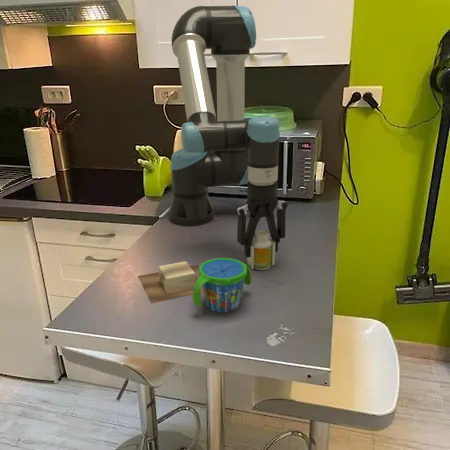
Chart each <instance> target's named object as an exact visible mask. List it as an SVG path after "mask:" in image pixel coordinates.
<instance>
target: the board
mask: <svg viewBox="0 0 450 450" xmlns="http://www.w3.org/2000/svg"><path fill="white" fill-rule="evenodd" d="M189 266H190V267H191V269H192V270H193V271H194V273H195V283H196V281H197V279H198V278H199V276H200V275H199V267H200V265H199V264H196V265H189ZM137 278H138V280H139V282H140V283H141V286H142V288H143V290H144V291H145V292H144V293H145V294H146V296H147V297H148V300H149V302H150V304H154V303H159V302H165V301H169V300H174V299H178V298H184V297H188V296H193V291H194V289H189V290H185V291H180V292H175V293H170V294H167V293H166V291H165V289H164V287H163V286H162V284H161V282H160V277H159V271H158V272H153V273H148V274H142V275H137ZM200 291H201V294H203V293H204V290H203V286H202V288H201V289H200Z"/></svg>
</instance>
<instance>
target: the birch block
mask: <svg viewBox="0 0 450 450" xmlns="http://www.w3.org/2000/svg"><path fill="white" fill-rule="evenodd" d="M190 266H191V265H190V264H189V263H188V262H187V261H180V262H179V261H178V262H174V263H170V264H169V263H167V264H164V265H158V272H159V277H160V282H161V284H162V286H163V287H164V289H165V291H166V293H167V294H170V293H175V292H180V291H185V290H189V289H194V287H195V273H194V271H193V270H192V269H191V267H190Z"/></svg>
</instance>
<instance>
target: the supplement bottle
mask: <svg viewBox="0 0 450 450" xmlns="http://www.w3.org/2000/svg"><path fill="white" fill-rule="evenodd" d="M270 239H271V238H270V232H269V230H265V229H256V230H255V234H254V238H253V241H252V245H253V246H254V269H253V270H257V271H265V270H269V269H270V268H271V267H272V265H271V248H272V242H271V240H270Z"/></svg>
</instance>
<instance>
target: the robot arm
mask: <svg viewBox="0 0 450 450" xmlns="http://www.w3.org/2000/svg"><path fill="white" fill-rule="evenodd" d="M254 17H255V16H253V12H252V10H251V9H250V8H249V7H247V6H242V5H199V6H198V5H197V6H194V7H191V8H189V9H188V10H187V11H185V12H184V13H183V14H182V15H181V16H180V17H179V19H178V20H177V21H176V23H175V26H174V27H173V31H172V34H171V47H172V53H173V55H174V56H175V57H177V63H178V69H179V75H180V83H181V90H182V95H183V101H184V102H183V103H184V107H185V108H184V109H185V115H186V122H184V123H183V124H182V125H181V127H180V129H181V130H180V134H181V144H182V148H180V149H176V151H174V152H173V153H172V155H171V158H170V162H171V163H170V164H171V165H170V170H171V180H172V181H171V185H172V186H171V187H172V188H171V189H172V199H171V201H170V202H171V203H170V205H169V209H168V221H169V222H171V223H173V224H175V225H178V226H192V227H193V226H195V227H196V226H200V225H204V224H208V223H211V222H212V221H213V220H214V218H215V211H214V208H213V205H212V203H211V202H212V201H211V200H210V197H209V188H210V187H211V188H212V187H213V188H216V187H227V186H235V187H237V186H241V185H247V186H246V187H247V191H246V193H247V194H246V195H247V201H246V203H245V205H243V206H236V207H235V210H236V214H237V235H236V242H237V243H239V245H241V246H242V247H243V250H244V251H243V252H244V253H243V254H244V256H245V257H246V258H247V259H246V265H248V267H249V269H250V270H255V269H254V246H253V245H252V241H253V239H254V234H255V231H256V230H257V226H258V223H259V222H260V219H262V218H265V220H266V224H267V227H268V232H269V236H270V238H269V239H270V240H271V242H272V248H271V266H275V265H276V264H275V263H276V253H277V252H278V251H279V243H281V239H285V237H286V211H287V208H288V202H286V201H284V200H282V199H281V200H279V199H278V198H277V197H278V187H279V186H278V185H279V184H278V182H277V181H278V178H279V176H278V175H279V152H280V150H279V149H280V136H281V133H280V131H281V130H280V122H279V120H278V118H275V117H270V116H256V117H248V116H246V117H245V101H246V100H245V92H246V91H245V85H246V84H245V83H246V82H245V79H246V78H245V75H246V74H245V72H246V71H245V66H246V65H245V64H246V63H245V62H246V60H247V59H248V58H249V57H250V54H251V50H252V49H254V48H255V46H256V43H257V28H256V22H255V18H254ZM206 50H210V55H211V57H212V58H213V60H215V63H216V67H215V68H216V105H217V107H216V110H215V106H214V100H213V99H214V98H213V94H212V90H211V84H210V79H209V73H208V68H207V63H206V56H205V52H206ZM216 111H217V112H216ZM216 114H217V115H216ZM275 209H276V221H275V214H274V210H275ZM248 211H249V216H248V218H249V220H248V224H247V215H248Z"/></svg>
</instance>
